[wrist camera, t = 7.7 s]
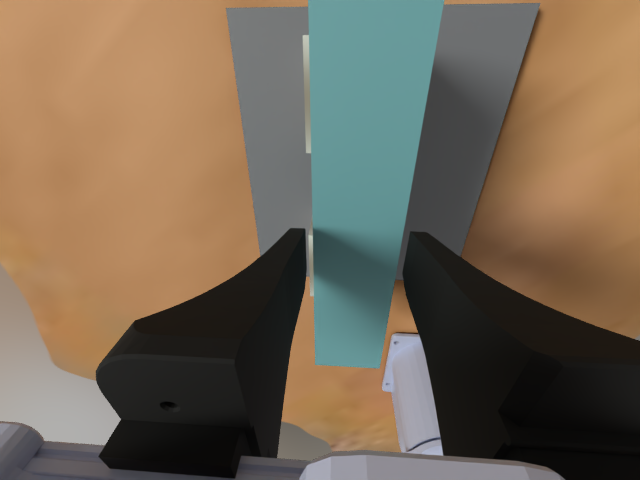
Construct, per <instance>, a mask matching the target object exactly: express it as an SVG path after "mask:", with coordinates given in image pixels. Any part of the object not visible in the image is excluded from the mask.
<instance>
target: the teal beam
mask: <svg viewBox="0 0 640 480" xmlns="http://www.w3.org/2000/svg"><path fill="white" fill-rule="evenodd" d="M443 5H444V0H308V16H309V68H310V119H311V171H312V222H313V273H314V325H315V365H328V366H346V367H364V368H380V362H381V357H382V351H383V345H384V340H385V334H386V328H387V323H388V317H389V311H390V306H391V300H392V294H393V289H394V283H395V277H396V271H397V266H398V260H399V254H400V249H401V243H402V237H403V232H404V226H405V220H406V215H407V209H408V203H409V198H410V192H411V186H412V181H413V175H414V169H415V164H416V158H417V152H418V147H419V141H420V135H421V130H422V124H423V118H424V112H425V107H426V101H427V95H428V90H429V84H430V78H431V73H432V67H433V61H434V56H435V50H436V44H437V39H438V33H439V27H440V22H441V16H442V10H443Z"/></svg>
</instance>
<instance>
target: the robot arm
mask: <svg viewBox="0 0 640 480" xmlns="http://www.w3.org/2000/svg"><path fill="white" fill-rule="evenodd" d="M306 273H307V259H306V230H305V228H290V229H289V230H288V231H287V232H286V233H285V234H284V235H283V236H282V237H281V238H280V239H279V240H278V241H277V242H276V243H275V244H274V245H273V246H272V247H270V248H269V249H268V250H267V251H266V252H265V253H264V254H263V255H262V256H261V257H259V258H258V259H257V260H256V261H255V262H253V263H252V264H251V265H250V266H248V267H247V268H245V269H244V270H243V271H241V272H240V273H238V274H237V275H235V276H234V277H232V278H230V279H229V280H227V281H225V282H224V283H222V284H220V285H218V286H216V287H215V288H213V289H211V290H209V291H207V292H205V293H203V294H201V295H199V296H197V297H195V298H193V299H190V300H188V301H186V302H184V303H181V304H179V305H176V306H174V307H172V308H169V309H166V310H163V311H161V312H158V313H155V314H152V315H150V316H147V317H144V318H141V319H138V320H135V321H134V322H133V324H132V325H131V326H130V327H129V328H128V330H127V331H126V332H125V333H124V335H123V336H122V337H121V338H120V340H119V341H118V342H117V343H116V344H115V346H114V347H113V348H112V349H111V351H110V352H109V353H108V354H107V356H106V357H105V358H104V359H103V360H102V362H101V363H100V364H99V366H98V368H97V370H96V381H97V384H98V386H99V388H100V390H101V392H102V393H103V395H104V396H105V398H106V399H107V400H108V402H109V403H110V404H111V406H112V407H113V409H114V410H115V411H116V413H117V414H118V415H119V417H120V418H121V421H120V422H119V424H118V425H117V427H116V429H115V430H114V432H113V434H112V435H111V437H110V438H109V440H108V442H107V443H106V445H92V444H91V445H90V444H78V443H65V442H51V441H44V439H43V437H42V436H41V435H40V433H39V432H37V431H36V430H35V429H33V428H32V427H30V426H27V425H25V424H22V423H15V422H3V421H0V480H640V341H638V340H635V339H632V338H629V337H626V336H624V335H621V334H618V333H615V332H612V331H609V330H606V329H603V328H600V327H597V326H594V325H592V324H589V323H586V322H584V321H581V320H579V319H576V318H574V317H571V316H569V315H566V314H564V313H561V312H559V311H557V310H554V309H552V308H550V307H547V306H545V305H543V304H541V303H539V302H537V301H534V300H532V299H530V298H528V297H526V296H524V295H522V294H520V293H518V292H516V291H514V290H512V289H510V288H509V287H507V286H505V285H503V284H501V283H500V282H498V281H496V280H494V279H493V278H491V277H489V276H488V275H486V274H485V273H483V272H481V271H480V270H478V269H477V268H475V267H474V266H472V265H471V264H469V263H468V262H467V261H465V260H464V259H462V258H461V257H460V256H458V255H457V254H455V253H454V252H453V251H451V250H450V249H449V248H448V247H446V246H445V245H444V244H442V243H441V242H440V241H438V240H437V239H436V238H434V237H433V236H432V235H430V234H429V233H427V232H415V231H410V235H409V240H408V245H407V250H406V256H405V261H404V266H403V271H402V274H403V281H404V287H405V292H406V296H407V299H408V303H409V306H410V309H411V312H412V315H413V318H414V321H415V324H416V327H417V330H418V333H419V334H403V333H395V334H393V335H392V337H391V342H390V347H389V352H388V357H387V362H386V368H385V373H384V378H383V383H382V390H383V391H387V392H391V393H392V400H393V406H394V413H395V419H396V426H397V432H398V439H399V445H400V449H401V452H402V453H399V452H385V451H371V450H356V451H336V452H332V453H329V454H327V455H324V456H321V457H319V458H316V459H313V460H312V461H306V460H291V459H279V458H277V454H278V444H279V435H280V426H281V419H282V410H283V402H284V394H285V386H286V379H287V371H288V364H289V357H290V350H291V344H292V339H293V335H294V331H295V327H296V323H297V319H298V314H299V310H300V306H301V302H302V298H303V294H304V290H305V282H306Z"/></svg>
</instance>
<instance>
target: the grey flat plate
mask: <svg viewBox="0 0 640 480" xmlns="http://www.w3.org/2000/svg"><path fill="white" fill-rule="evenodd" d="M539 6H540V3H514V4H450V5H443V10H442V16H441V22H440V27H439V33H438V39H437V44H436V50H435V56H434V61H433V67H432V73H431V78H430V84H429V90H428V95H427V101H426V107H425V112H424V118H423V124H422V130H421V135H420V141H419V147H418V152H417V158H416V164H415V169H414V175H413V181H412V186H411V192H410V198H409V203H408V209H407V215H406V220H405V226H404V232H403V237H402V243H401V249H400V254H399V260H398V266H397V271H396V277H395V280H403V274H402V271H403V266H404V261H405V256H406V250H407V245H408V240H409V235H410V231H415V232H427V233H429V234H430V235H432V236H433V237H434V238H436V239H437V240H438V241H440V242H441V243H442V244H444V245H445V246H446V247H448V248H449V249H450V250H451V251H453V252H454V253H455V254H457V255H458V256H461V253H462V250H463V247H464V244H465V240H466V237H467V234H468V231H469V228H470V224H471V221H472V218H473V215H474V212H475V209H476V205H477V202H478V199H479V196H480V193H481V190H482V186H483V183H484V180H485V177H486V174H487V171H488V167H489V164H490V161H491V158H492V155H493V152H494V148H495V145H496V142H497V139H498V136H499V132H500V129H501V126H502V123H503V120H504V117H505V113H506V110H507V107H508V104H509V101H510V98H511V94H512V91H513V88H514V85H515V82H516V79H517V75H518V72H519V69H520V66H521V63H522V60H523V56H524V53H525V50H526V47H527V44H528V40H529V37H530V34H531V31H532V28H533V25H534V21H535V18H536V15H537V12H538V9H539ZM226 12H227V19H228V26H229V33H230V40H231V48H232V55H233V62H234V69H235V76H236V84H237V91H238V98H239V105H240V112H241V119H242V127H243V134H244V141H245V148H246V155H247V162H248V170H249V177H250V184H251V191H252V198H253V206H254V213H255V220H256V227H257V234H258V241H259V249H260V256H262V255H263V254H264V253H265V252H266V251H267V250H268V249H269V248H270V247H272V246H273V245H274V244H275V243H276V242H277V241H278V240H279V239H280V238H281V237H282V236H283V235H284V234H285V233H286V232H287V231H288V230H289V229H290V228H305V230H306V259H307V273H306V276H309V277H310V272H309V237H308V235H309V230H310V225H311V220H312V171H311V153H306V134H305V99H304V65H303V35H309V16H308V7H261V8H226Z"/></svg>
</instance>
